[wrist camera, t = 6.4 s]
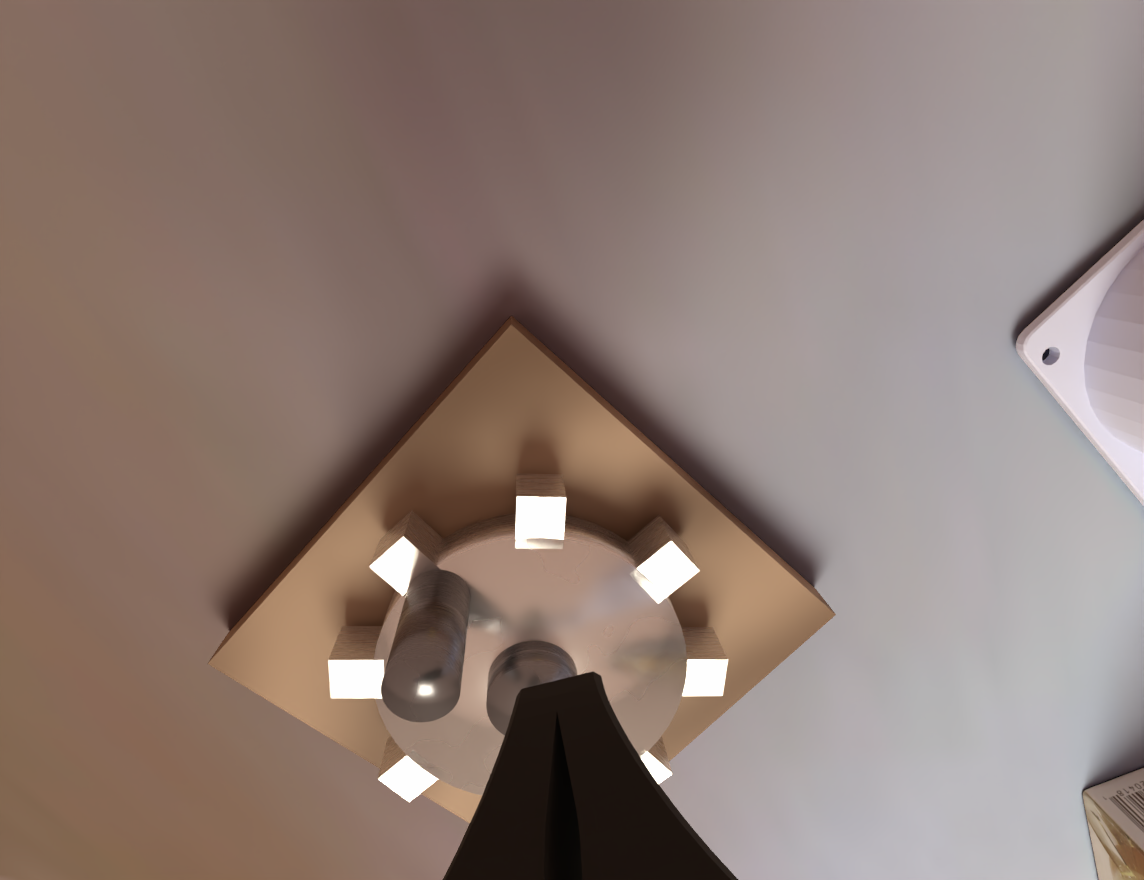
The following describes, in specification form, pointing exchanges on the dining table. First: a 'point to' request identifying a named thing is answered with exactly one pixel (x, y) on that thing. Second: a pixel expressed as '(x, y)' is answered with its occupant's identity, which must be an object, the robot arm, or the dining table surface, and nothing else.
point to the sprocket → (521, 634)
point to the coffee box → (1117, 826)
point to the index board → (488, 488)
